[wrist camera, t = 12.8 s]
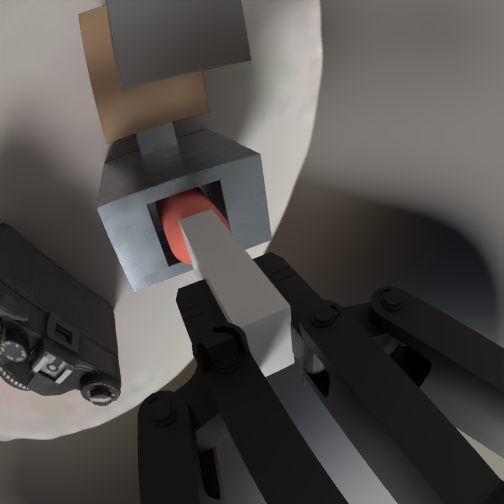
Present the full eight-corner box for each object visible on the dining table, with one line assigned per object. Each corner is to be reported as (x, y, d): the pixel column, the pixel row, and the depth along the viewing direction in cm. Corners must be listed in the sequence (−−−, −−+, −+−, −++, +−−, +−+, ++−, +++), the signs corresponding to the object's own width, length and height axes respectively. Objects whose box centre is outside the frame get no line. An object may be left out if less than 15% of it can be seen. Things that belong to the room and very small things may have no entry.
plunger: (150, 189, 15) (161, 221, 12) (197, 173, 16) (223, 199, 13) (163, 231, 17) (179, 273, 14) (207, 216, 18) (234, 252, 14)
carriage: (86, 30, 13) (39, -71, 2) (171, 8, 14) (272, -100, 3) (109, 133, 18) (92, 211, 6) (190, 108, 19) (312, 143, 8)
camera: (-42, 294, 17) (-73, 375, 9) (0, 207, 16) (-51, 282, 9) (68, 364, 26) (72, 445, 18) (125, 303, 25) (141, 392, 18)
